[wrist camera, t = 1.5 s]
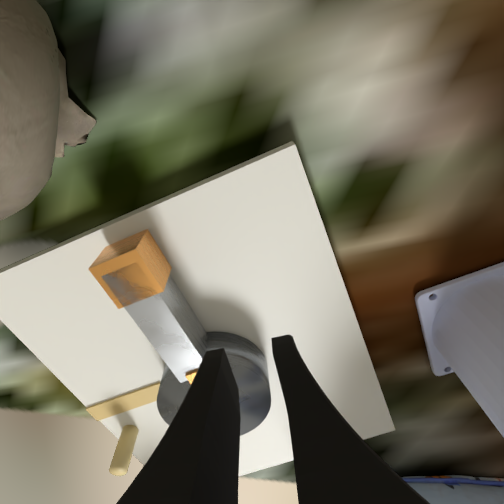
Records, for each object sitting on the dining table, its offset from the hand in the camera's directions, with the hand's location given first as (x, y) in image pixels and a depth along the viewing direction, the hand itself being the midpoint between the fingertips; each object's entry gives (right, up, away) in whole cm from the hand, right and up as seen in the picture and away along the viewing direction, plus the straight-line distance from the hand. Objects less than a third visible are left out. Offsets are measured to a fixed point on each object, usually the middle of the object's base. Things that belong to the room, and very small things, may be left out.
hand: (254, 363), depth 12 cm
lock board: (-3, -4, +12) cm, 13 cm away
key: (-4, -1, +10) cm, 11 cm away
